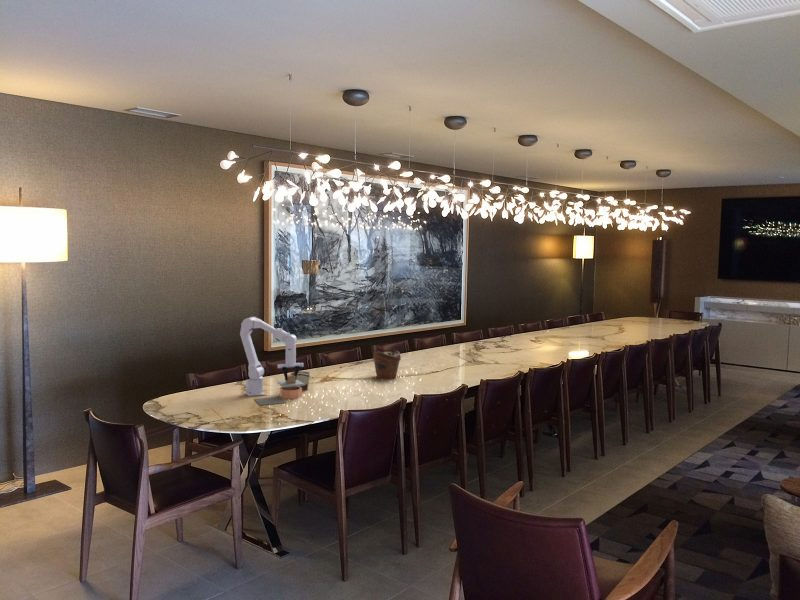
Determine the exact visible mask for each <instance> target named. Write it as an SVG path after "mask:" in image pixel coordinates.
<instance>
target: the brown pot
mask: <svg viewBox="0 0 800 600" xmlns="http://www.w3.org/2000/svg"><path fill="white" fill-rule="evenodd" d="M372 359H373V363H374V368H375V375H376V378H378V379H382V380H384V379H385V380H391V379H392V380H393V379H395V378H397V374H398V369H399V365H400V361H401V359H402V357H401V352H400V351H398V350H394V349H390V350H387V351H383V352H382V351H377V350H376V351H374V352H373V358H372Z"/></svg>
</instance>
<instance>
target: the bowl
mask: <svg viewBox="0 0 800 600" xmlns="http://www.w3.org/2000/svg"><path fill="white" fill-rule="evenodd" d="M302 396H303V390H302V388H301V387H300V386H294V387H282V386H280V387H279V397H280V398H281V399H299V398H300V397H302Z"/></svg>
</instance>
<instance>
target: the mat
mask: <svg viewBox="0 0 800 600" xmlns="http://www.w3.org/2000/svg"><path fill="white" fill-rule="evenodd" d="M253 400H254V402H256V404H258V405H259V406H269V405H281V404H287V403H286V401H285V400H284V399H283V398H282V397H281V396H272V397H260V398H259V397H257V398H253Z"/></svg>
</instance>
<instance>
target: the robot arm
mask: <svg viewBox="0 0 800 600" xmlns="http://www.w3.org/2000/svg"><path fill="white" fill-rule="evenodd" d="M240 326H241V327H240V332H239V336H240V338H241V343H242V345H243V348H244V352H245V355H246V359H247V362H248V367H247V369H248V377H249V379H246V380H245V394H246V396H247V397H253V396H263V395H264V396H265V395H266V393H265V392H264V377H263V376H264V374H265V369H264V367H263V365H262V363H261V362H260V361H259V359H258V356H257V353H256V349H255V346H254V344H253V340H252V336H251V334H252V332H253V330H255V329H262V330H264V331H265V332H268V333H270V334H272V336H273V338H275V339H276V340H278V341H280V342H282V343H283V344H284V345H285V363H279V364H277V369H281V371H282V374H283V376H284V381H287V375H288V371H289V369H288V368H293V372H294V375H295V376H296V378H297V374H298V372H299V371H301V370H300V369H301V368H303V367H304V362H296V361H297V358H296V357H297V347H296V346H297V342H298V337H297V336H296V334H294V333H290V332H287V331H285V330H284V329H283V328H281V327H280V328H279V327H278V328H275V327H273V326H272V325H271V324H269V323H267V322H265V321H263V319H260V318H258V317H257V316H250V317H246V318H244V319H243V321H241V324H240Z"/></svg>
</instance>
